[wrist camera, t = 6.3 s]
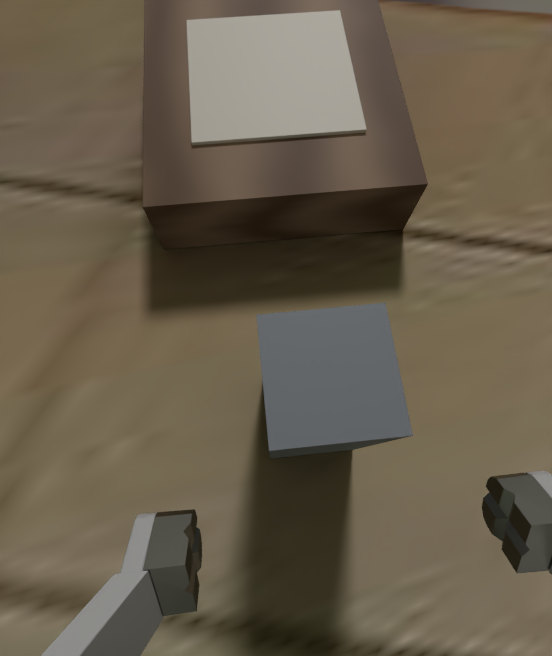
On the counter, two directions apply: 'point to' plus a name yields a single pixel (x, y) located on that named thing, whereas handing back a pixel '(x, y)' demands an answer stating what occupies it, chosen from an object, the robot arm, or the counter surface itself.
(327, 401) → the slate block
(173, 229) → the walnut base
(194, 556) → the robot arm
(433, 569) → the counter surface
